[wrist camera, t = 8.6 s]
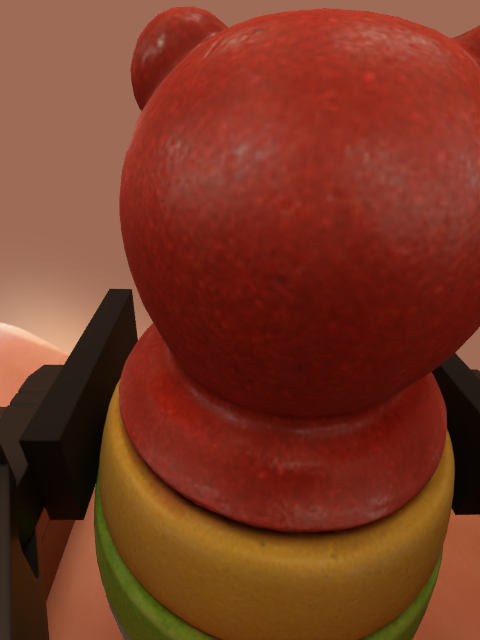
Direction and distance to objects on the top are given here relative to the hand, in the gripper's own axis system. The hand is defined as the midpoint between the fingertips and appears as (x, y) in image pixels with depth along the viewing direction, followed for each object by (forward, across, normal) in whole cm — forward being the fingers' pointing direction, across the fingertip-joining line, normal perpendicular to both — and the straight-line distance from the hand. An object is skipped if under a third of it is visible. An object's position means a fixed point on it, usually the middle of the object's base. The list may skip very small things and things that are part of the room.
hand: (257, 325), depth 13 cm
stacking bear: (-4, 0, -10) cm, 11 cm away
